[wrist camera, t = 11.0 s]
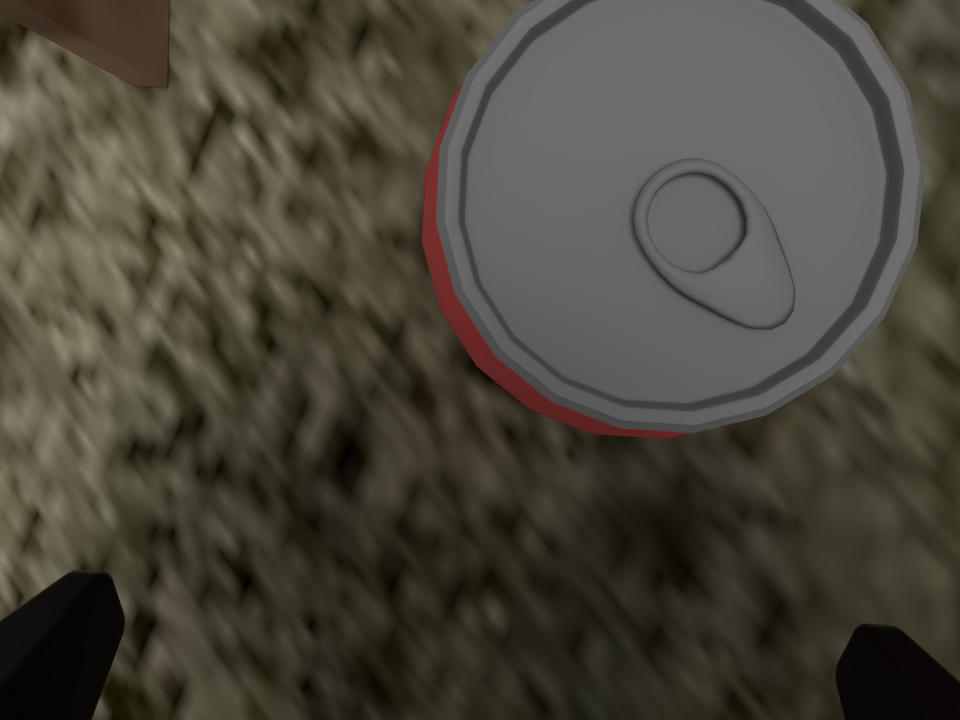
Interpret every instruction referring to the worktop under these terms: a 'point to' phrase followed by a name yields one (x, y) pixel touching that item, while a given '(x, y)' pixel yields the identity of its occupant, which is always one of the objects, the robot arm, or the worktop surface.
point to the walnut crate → (104, 33)
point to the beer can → (672, 207)
